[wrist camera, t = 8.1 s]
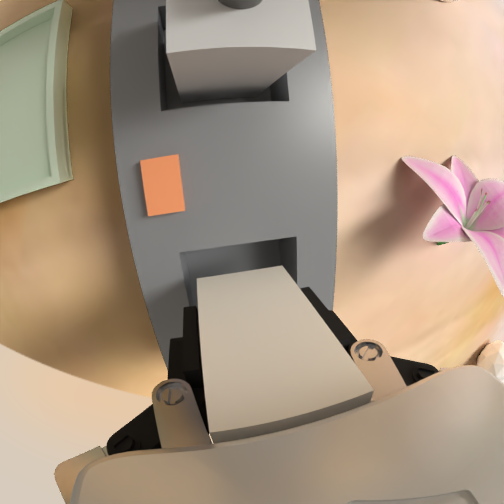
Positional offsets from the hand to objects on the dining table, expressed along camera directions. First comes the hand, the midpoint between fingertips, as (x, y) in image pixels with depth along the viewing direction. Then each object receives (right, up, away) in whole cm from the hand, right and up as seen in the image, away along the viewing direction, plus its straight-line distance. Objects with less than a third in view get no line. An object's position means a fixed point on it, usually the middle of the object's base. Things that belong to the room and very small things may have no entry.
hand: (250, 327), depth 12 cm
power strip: (-1, +8, +3) cm, 9 cm away
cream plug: (0, 0, +2) cm, 2 cm away
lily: (+15, +8, +7) cm, 18 cm away
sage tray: (-17, +12, -2) cm, 21 cm away
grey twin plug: (-2, +13, 0) cm, 13 cm away
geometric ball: (+39, -13, +20) cm, 46 cm away
